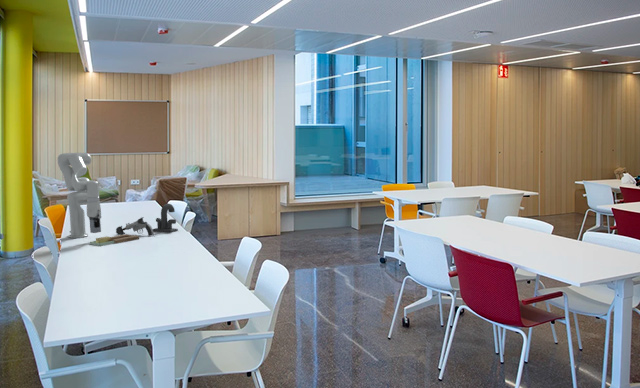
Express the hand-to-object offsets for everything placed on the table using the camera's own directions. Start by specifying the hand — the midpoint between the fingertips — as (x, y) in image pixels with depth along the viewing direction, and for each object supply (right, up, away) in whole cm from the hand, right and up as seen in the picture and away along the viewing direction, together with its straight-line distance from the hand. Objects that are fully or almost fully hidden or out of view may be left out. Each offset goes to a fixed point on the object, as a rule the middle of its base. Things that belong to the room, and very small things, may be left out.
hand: (95, 226), depth 371 cm
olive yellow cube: (+9, -10, -5) cm, 15 cm away
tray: (+8, -11, -7) cm, 15 cm away
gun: (+18, -8, +26) cm, 32 cm away
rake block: (0, -4, +1) cm, 4 cm away
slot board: (+16, -10, +5) cm, 19 cm away
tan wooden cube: (+7, -11, -8) cm, 15 cm away
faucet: (+37, -5, +44) cm, 57 cm away
